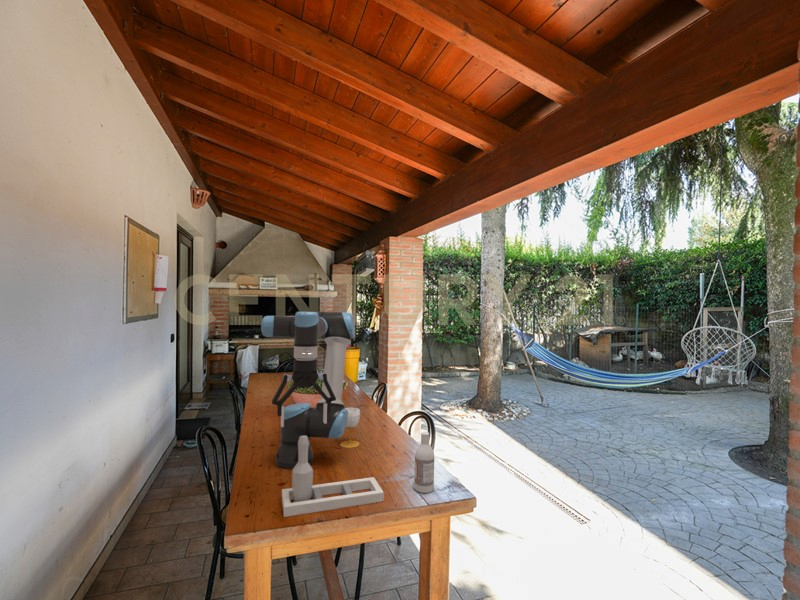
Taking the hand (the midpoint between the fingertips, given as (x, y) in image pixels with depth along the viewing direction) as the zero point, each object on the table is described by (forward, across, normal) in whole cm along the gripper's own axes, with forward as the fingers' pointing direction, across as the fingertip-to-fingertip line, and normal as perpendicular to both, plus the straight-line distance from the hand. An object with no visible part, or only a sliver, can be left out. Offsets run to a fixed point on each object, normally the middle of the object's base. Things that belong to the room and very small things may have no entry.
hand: (303, 424), depth 128 cm
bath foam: (+26, +42, -2) cm, 50 cm away
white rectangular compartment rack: (+26, +10, 0) cm, 28 cm away
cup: (+26, +27, +49) cm, 62 cm away
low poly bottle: (+26, 0, 0) cm, 26 cm away
